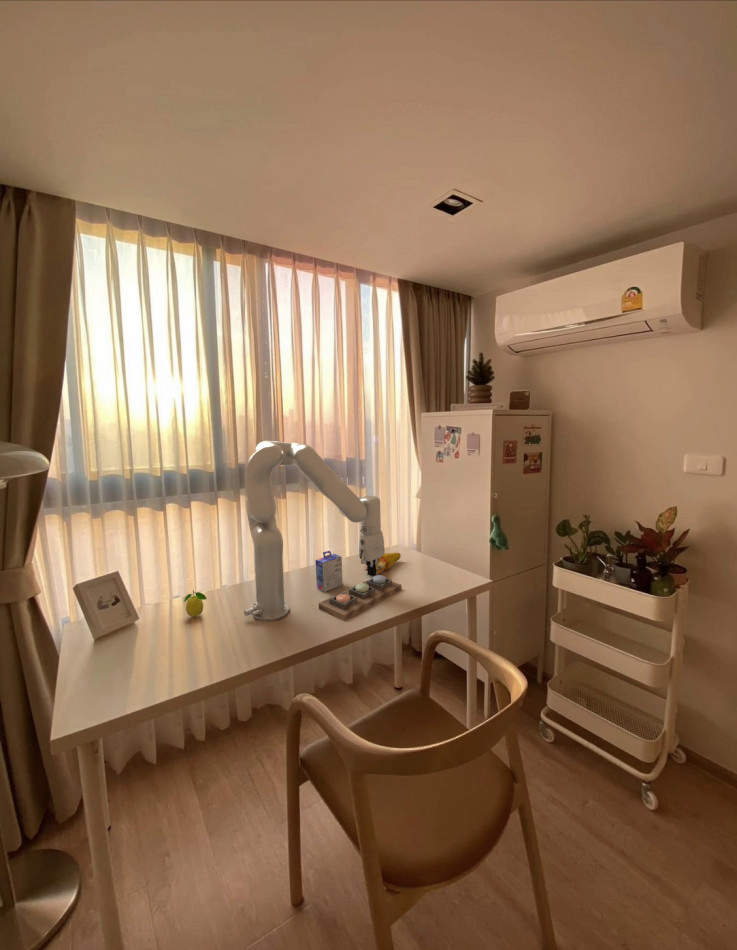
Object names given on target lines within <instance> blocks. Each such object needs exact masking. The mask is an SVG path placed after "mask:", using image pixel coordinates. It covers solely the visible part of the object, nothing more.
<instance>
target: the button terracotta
mask: <svg viewBox="0 0 737 950" xmlns="http://www.w3.org/2000/svg"><path fill="white" fill-rule="evenodd" d="M349 600H350V596H349V595H347V594H340V595H338V596H336V601H339V602H341V603H345V602H347V601H349Z"/></svg>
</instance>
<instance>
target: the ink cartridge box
mask: <svg viewBox="0 0 737 950" xmlns="http://www.w3.org/2000/svg"><path fill="white" fill-rule="evenodd" d="M326 554H327V555H326ZM322 555H323V557H321V558H318V559H315V560H314V561H315V577H316V578H315V579H316V589H317V590H319V591H320V592H322V593H326V592H328V591H330V590H333V589H335V588H338V587H341V586H343V583H344V582H343V559H342V558H343V557H342V556H341V555H338V554H336V553H333V554H332V553H331V550H327V551H322Z"/></svg>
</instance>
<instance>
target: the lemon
mask: <svg viewBox="0 0 737 950" xmlns="http://www.w3.org/2000/svg"><path fill="white" fill-rule="evenodd" d="M204 600H207V596H206V594H204V593H202V592H199V591H197V592H195V591H194V589H192V593H188V594H187V595H186V596H185V597H184V601H183V602H184V603H185V602H186V603H185V604H186V605H185V611H186V613H187V614H188V616H190V617H194V618H197V617H198V616H199V615H200V614H202V612H203V610H204V602H203V601H204Z"/></svg>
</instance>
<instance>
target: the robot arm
mask: <svg viewBox="0 0 737 950" xmlns="http://www.w3.org/2000/svg"><path fill="white" fill-rule="evenodd" d="M278 466H289V467H291V466H293V467H296V469H297V470H299V472H301V474H302V475H303V476H304V477H305V478H306V479H307V480H308V481H309V482H310V483H311V484H312V485H313V486H314V487H315V488H316V490H317V491H319V492H320V493H321V494H322V495H323V496H325V497H326V498H327V499H328V500H330V501H331V502H332V503H333V504H334V506H336V507H337V508H338V511H339V513H340V515H342V516H343V517H345V518H346V519H348V520H349V522H352V523H360V530H359V531H360V535H359V541H358V542H359V544H358V557H359V559H360V564H362V565H367V571H366V572H367V575H368V576H369V577H371V578H372V577H373V576H377V575H376V565H377V561H378V559H379V558H380V557H382V556H383V555H384V554H386V553H385V552H386V551H385V549H386V548H385V539H384V533H383V531H382V530H381V529H382V525H381V524H382V523H381V522H382V521H381V520H382V519H381V518H382V517H381V515H382V514H381V510H382V509H381V498H380V497H379V496H375V495H365V496H362V497H360V496H359V497H358V496H357V495H356V494H355V493H354V492H353V490H351V489H350V487H349V486H348V485H347V484H346V483H345V482H344V481H343V480H342V479H341V477H340V476H338V475H337V473H336V472H335V471H334V470H333V469H332V468H331V467H330V466H329V465H328V464H327V462H326V461H325V460H324V459H323V458H322V457H321V456H320V455H319V454H318V453H317V451H316V450H314V448H312V447H311V446H310V445H308V444H305V443H298V442H289V441H288V442H287V441H286V442H285V441H276V440H263V441H261V442H259V443H258V444H257V445H256V447H255V449H254V453H253V454H252V455H251V456H250V458H249V459H248V461H247V462H246V466H245V469H244V483H245V491H246V497H247V498H246V501H245V508H246V516H247V521H248V527H249V532H250V536H251V539H252V543H253V551H254V552H253V554H254V555H253V556H254V557H253V559H254V560H253V561H254V564H253V565H254V574H255V576H254V577H255V578H254V579H255V594H256V595H255V597H256V601H255V602H253V606H252V607H250V608H248V609H247V608H246V609H244V610H243V614H244V616H245V617H247V616H250V615H251V616H252V617H254V619H257V620H259V621H265V622H270V621H276V620H278V619H279V620H280V619H281V618H284V617H285V616H286V615H288V614H289V612H290V605H289V604H288V603H286V602H285V585H284V583H285V582H284V580H285V579H284V562H283V561H284V558H283V556H284V555H283V554H284V538H283V535H282V533H281V530H280V529H279V528H278V526H277V520H276V512H277V505H276V501H275V495H274V490H273V481H272V475H273V472H274V470H275V469H276V468H277V467H278ZM369 561H370V562H369Z"/></svg>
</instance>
